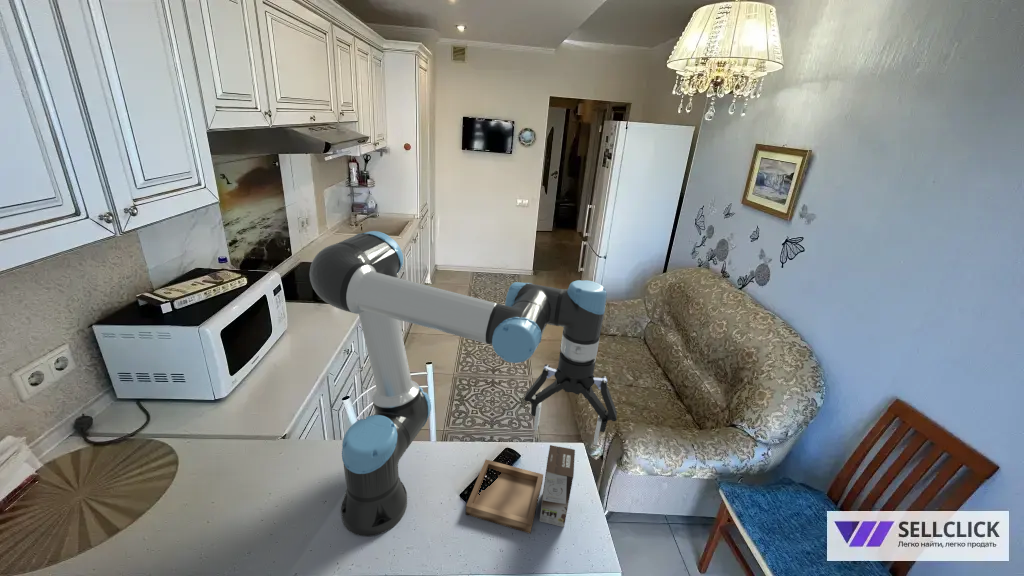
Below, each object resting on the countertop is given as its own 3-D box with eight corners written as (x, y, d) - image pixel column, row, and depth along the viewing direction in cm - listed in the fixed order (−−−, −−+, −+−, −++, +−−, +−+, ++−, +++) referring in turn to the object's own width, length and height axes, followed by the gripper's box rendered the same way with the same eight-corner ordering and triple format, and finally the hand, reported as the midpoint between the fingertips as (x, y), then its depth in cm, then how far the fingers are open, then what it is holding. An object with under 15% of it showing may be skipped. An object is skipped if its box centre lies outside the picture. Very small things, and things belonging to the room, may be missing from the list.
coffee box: (565, 528, 97) (573, 478, 91) (538, 521, 98) (545, 472, 92) (567, 496, 106) (575, 448, 99) (543, 491, 107) (549, 443, 100)
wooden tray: (465, 514, 99) (465, 505, 97) (485, 467, 112) (485, 459, 111) (530, 533, 95) (531, 524, 94) (542, 482, 109) (543, 474, 108)
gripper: (515, 350, 83) (508, 431, 91) (640, 375, 78) (621, 459, 86) (524, 334, 90) (516, 410, 98) (639, 356, 85) (621, 435, 93)
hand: (565, 433), depth 92 cm, fingers open, 13 cm apart
